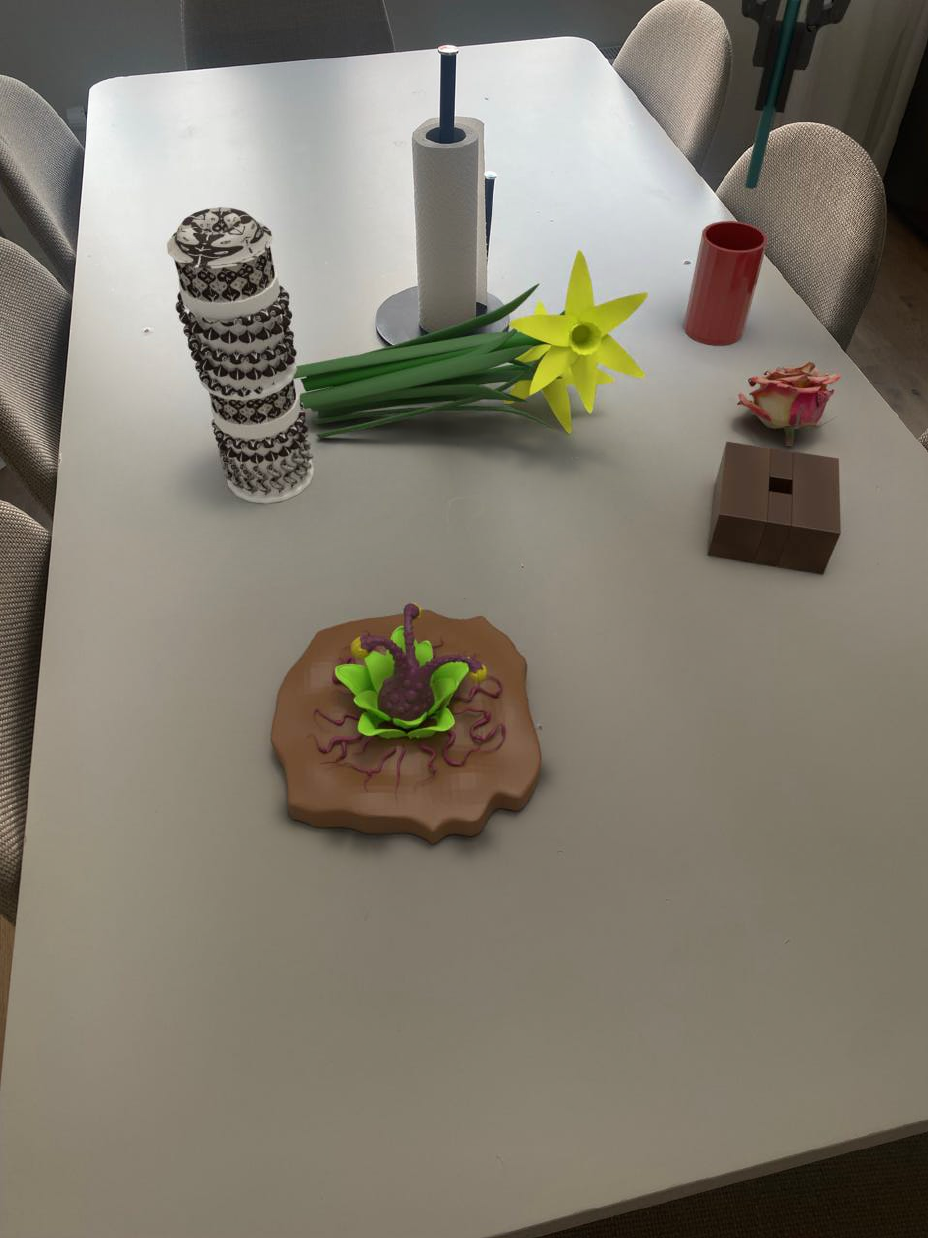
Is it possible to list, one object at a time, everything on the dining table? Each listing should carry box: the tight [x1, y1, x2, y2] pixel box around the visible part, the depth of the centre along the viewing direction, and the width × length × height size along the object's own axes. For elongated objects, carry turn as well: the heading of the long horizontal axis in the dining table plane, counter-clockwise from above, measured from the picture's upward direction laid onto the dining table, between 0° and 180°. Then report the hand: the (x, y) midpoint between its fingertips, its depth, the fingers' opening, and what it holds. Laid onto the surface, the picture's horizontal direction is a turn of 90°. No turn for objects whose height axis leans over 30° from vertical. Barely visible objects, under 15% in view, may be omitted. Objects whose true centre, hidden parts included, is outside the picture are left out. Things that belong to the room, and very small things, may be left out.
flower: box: [736, 361, 842, 447], centre depth 90 cm, size 10×9×8 cm
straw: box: [744, 0, 803, 190], centre depth 84 cm, size 1×1×16 cm
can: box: [683, 220, 769, 346], centre depth 101 cm, size 7×7×11 cm
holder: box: [707, 441, 842, 575], centre depth 82 cm, size 10×10×5 cm
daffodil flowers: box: [293, 249, 649, 439], centre depth 88 cm, size 17×15×35 cm
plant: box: [270, 602, 542, 845], centre depth 65 cm, size 20×20×11 cm
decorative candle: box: [166, 206, 315, 505], centre depth 79 cm, size 9×9×25 cm
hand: (769, 105), depth 85 cm, fingers closed on straw
